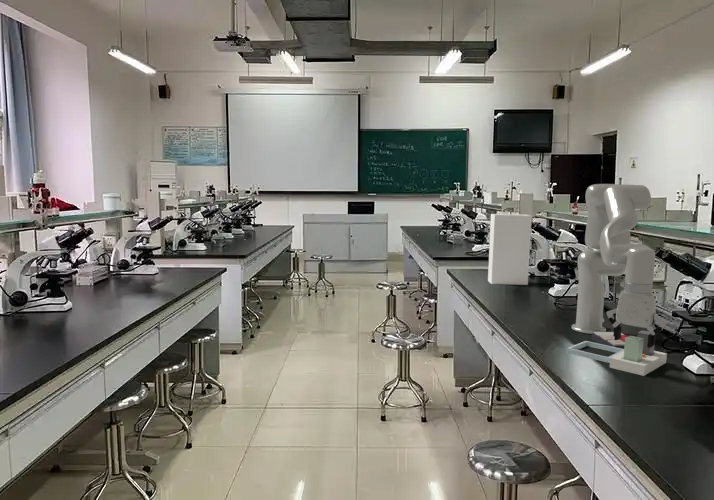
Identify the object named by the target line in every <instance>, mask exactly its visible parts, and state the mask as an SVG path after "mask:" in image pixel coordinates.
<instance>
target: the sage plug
mask: <svg viewBox="0 0 714 500" xmlns="http://www.w3.org/2000/svg"><path fill="white" fill-rule="evenodd" d="M627 336H628V337H626V338H625V346H624V359H625V360H629V361H633V362H638V363H639V362H641V361H642V352H643V340H644V338H639V337H637V336H633V335H627Z"/></svg>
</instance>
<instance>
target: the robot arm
mask: <svg viewBox="0 0 714 500" xmlns="http://www.w3.org/2000/svg"><path fill="white" fill-rule="evenodd" d="M584 196H585V203H586V207H587V220H586V227H585V232H584V233H585V234H584V243H585V246H586V247H587V248H589V249H594V250H586V251H583V252H581V253H580V254H579V255H578V257H577V272H578V287H577V304H576V317H575V318H576V319H575V323H573V324H571V329H572V330H573V331H575V332H579V333H583V334H590V335H592V333H594V332H607V328H606V327H604V326H603V323H604V322H605V318H604V303H605V302H604V300H605V285H604V283H603V282H602V280H601V278H599V276H600V277H601V276H604V277H605V276H606V277H610V276H611V277H620V276H622V275H623V274H624V273H625V277H624V281H621V282H620V284H619V286H620V287H622V288H623V290H621V291H620V293H619V297H618V301H617V306H616V308H614V309H611V310H608V311H606V316H607V317H608V321H609V322H610V323H611V325H612V327H613V332H614V334H613V336H614V337H615V338H614V340H619V339H621V333H622V326H621V325H622V324H623V325H626V326H631V327H635V328H636V327H637V328H641V329H647V331H648V332H650V334H649V335H648V344H647V347H648V348H651V347H652V346H653V345H656V340H657V334H658V333H660V332H661V331H663V330H664V328H665V327H666V326H667V325H668V322H667V321H666V320H665V319H663V318H662V317H661V316H659V315H658V314H657V313H656V299H655V294H654V293H653V283H654V273H655V260H656V252H655V250H654V249H653V248H650V247H649V246H648V245H646V244H640V243H637V244H636V243H631V240H632V239H631V232H630V230H632V229H634V228H635V227H636V225H637V224H638V222H639V221H638V220H639V219H638V216H637V212H636V211H638V210H639V211H641V210H642V211H643V210H647V209H648V208H649V206H650V205H651V201H652V195H651V191H650V190H649V188H648V187H647V186H645V185H643V184H619V183H618V184H616V183H595V184H591V185H589V186H588V187H587V189H586V190H585V195H584ZM614 314H615V317H614ZM656 322H657V323H659V325H658V326H657V327H655V324H656Z"/></svg>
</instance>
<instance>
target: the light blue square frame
mask: <svg viewBox="0 0 714 500" xmlns="http://www.w3.org/2000/svg"><path fill="white" fill-rule="evenodd" d="M586 347H589V348H593V349H599V350H603V351H607V352H612V353H613V354H611V355H609V356H605V355H602V354H601V355H600V354H596V353H592V352H589V351H588V352H587V351H584V350H582V349H584V348H586ZM621 352H624V349H621V348H616V347H612V346H607V345H603V344H600V343H598V342H594V341H588V340H584V341H582V342H580V343H579V342H578V343H577V344H574V345H572V346H569V347H567V348H566V354H571V355H574V356H578V357H583V358H587V359H592V360H596V361H600V362H605V363H609V364H610V358H611V357H613V356H615V355H617V354H619V353H621Z"/></svg>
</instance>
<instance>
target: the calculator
mask: <svg viewBox="0 0 714 500" xmlns="http://www.w3.org/2000/svg"><path fill="white" fill-rule="evenodd" d="M613 334H614V331H606V332H594V333H592V334H591V340H592V342H594V343H598V344H603V345H607V346H612V347H616V348H621V349H624V346H625V338H626V337H628V336H629V335H626V334H624V333H622V332H621V339H619V340H614V338H615V337H614V336H613Z"/></svg>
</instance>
